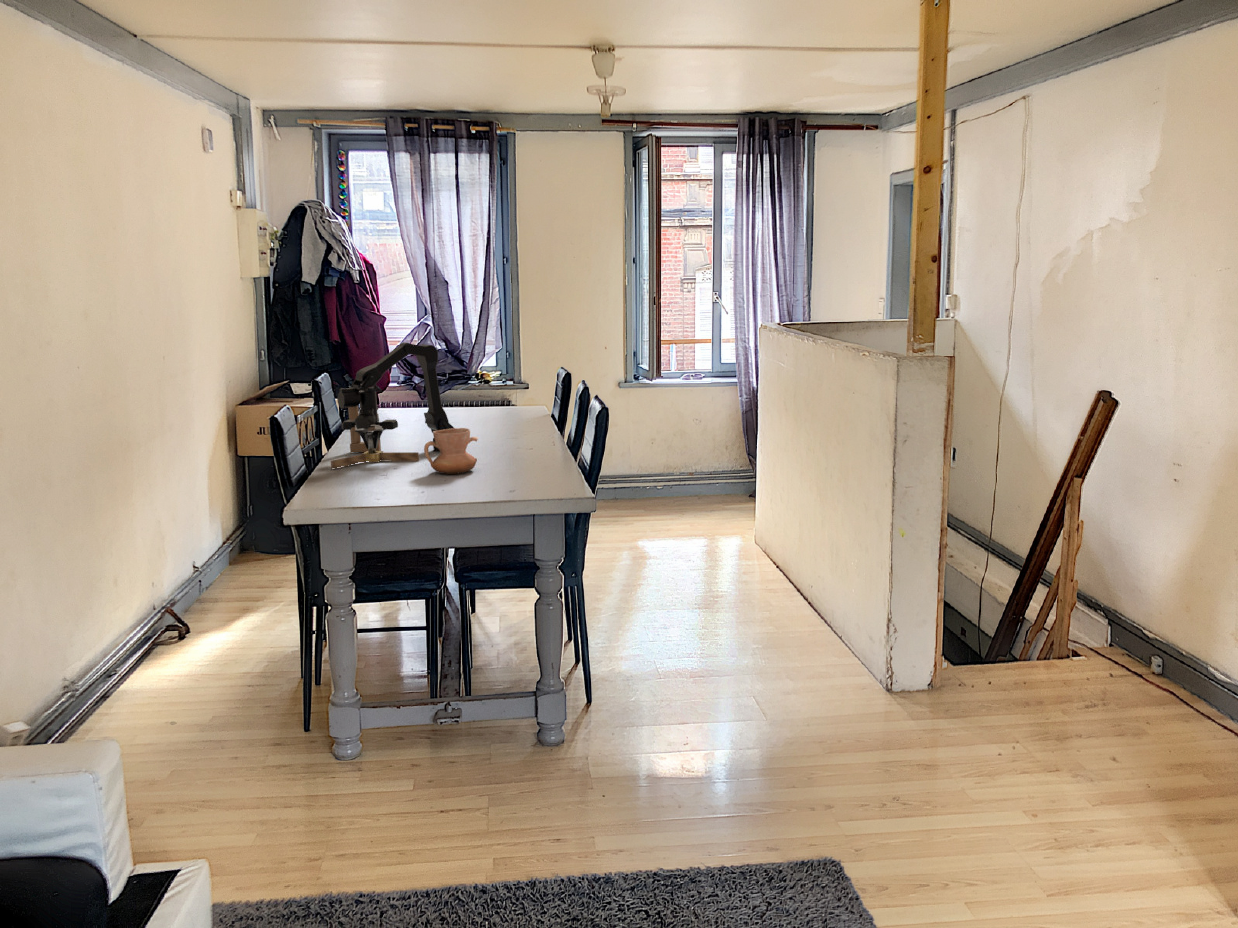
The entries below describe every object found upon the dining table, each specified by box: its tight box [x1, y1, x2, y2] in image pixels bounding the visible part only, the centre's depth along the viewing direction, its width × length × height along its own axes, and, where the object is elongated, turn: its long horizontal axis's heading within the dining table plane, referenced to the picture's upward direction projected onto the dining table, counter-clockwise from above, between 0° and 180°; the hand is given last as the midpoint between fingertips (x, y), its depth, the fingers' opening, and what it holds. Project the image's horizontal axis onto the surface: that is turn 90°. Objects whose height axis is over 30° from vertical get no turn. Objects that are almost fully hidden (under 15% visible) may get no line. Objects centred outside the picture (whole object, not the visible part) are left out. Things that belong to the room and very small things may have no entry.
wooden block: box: [347, 405, 382, 453], centre depth 381 cm, size 4×11×18 cm, turn 92°
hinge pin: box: [366, 431, 376, 454], centre depth 363 cm, size 3×3×9 cm
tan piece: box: [330, 450, 420, 468], centre depth 358 cm, size 26×18×3 cm
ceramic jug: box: [423, 427, 479, 475], centre depth 340 cm, size 18×14×14 cm
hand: (371, 448), depth 364 cm, fingers open, 3 cm apart
